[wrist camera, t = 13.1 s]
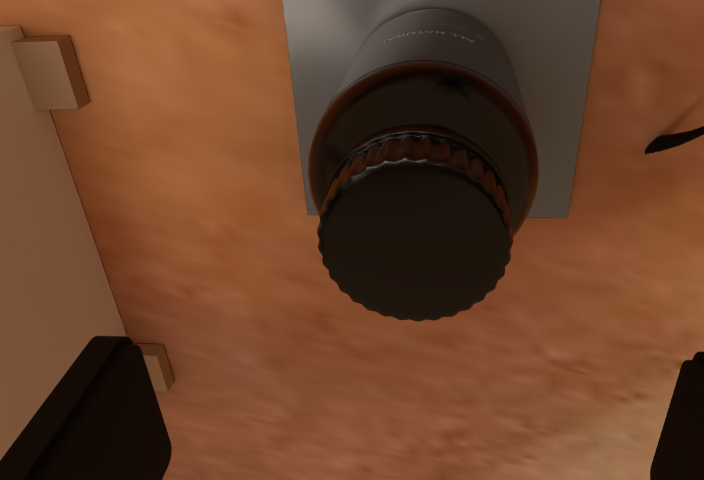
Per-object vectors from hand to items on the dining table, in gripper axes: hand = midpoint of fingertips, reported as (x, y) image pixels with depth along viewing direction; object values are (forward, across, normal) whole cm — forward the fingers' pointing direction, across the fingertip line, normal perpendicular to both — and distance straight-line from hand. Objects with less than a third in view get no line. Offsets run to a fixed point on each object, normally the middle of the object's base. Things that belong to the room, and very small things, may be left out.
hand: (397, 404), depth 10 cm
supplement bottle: (+17, -1, -1) cm, 17 cm away
